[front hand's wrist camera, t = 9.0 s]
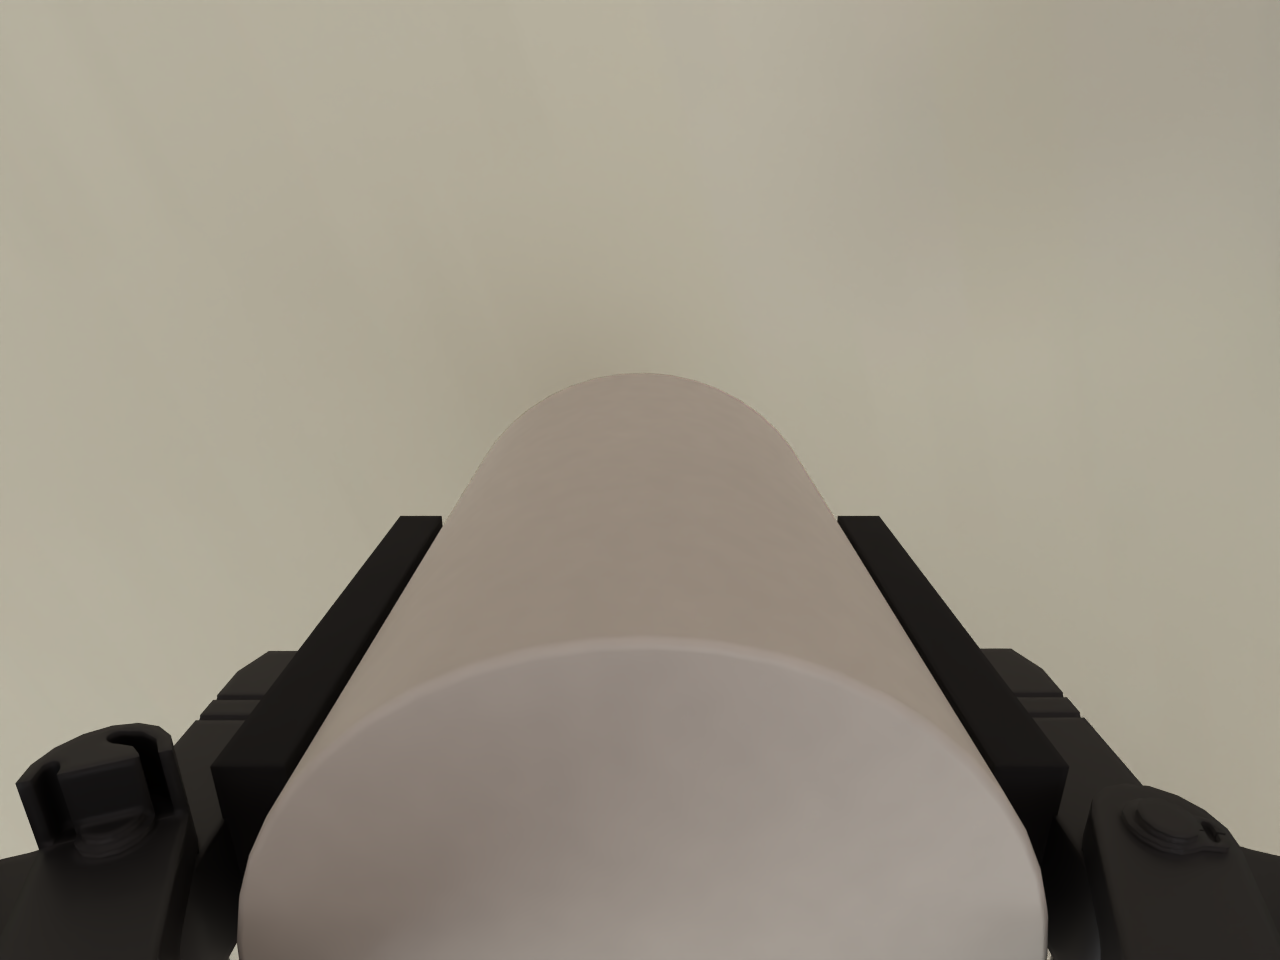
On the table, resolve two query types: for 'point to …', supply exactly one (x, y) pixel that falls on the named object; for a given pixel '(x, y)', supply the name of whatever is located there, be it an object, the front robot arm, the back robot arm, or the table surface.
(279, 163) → the table surface
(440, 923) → the can
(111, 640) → the table surface
